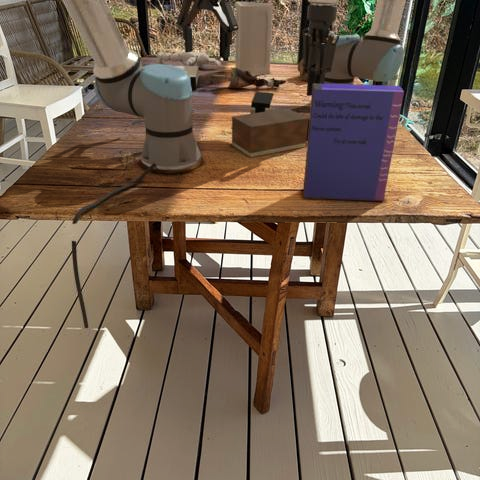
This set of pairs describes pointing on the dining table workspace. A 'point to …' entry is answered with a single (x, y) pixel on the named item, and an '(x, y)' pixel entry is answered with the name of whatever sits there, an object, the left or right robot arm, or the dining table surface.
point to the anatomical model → (303, 70)
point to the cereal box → (351, 141)
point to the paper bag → (253, 37)
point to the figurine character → (261, 102)
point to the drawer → (308, 124)
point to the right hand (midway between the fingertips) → (314, 96)
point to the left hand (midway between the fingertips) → (207, 54)
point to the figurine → (246, 79)
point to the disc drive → (191, 74)
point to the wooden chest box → (269, 132)
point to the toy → (186, 58)
